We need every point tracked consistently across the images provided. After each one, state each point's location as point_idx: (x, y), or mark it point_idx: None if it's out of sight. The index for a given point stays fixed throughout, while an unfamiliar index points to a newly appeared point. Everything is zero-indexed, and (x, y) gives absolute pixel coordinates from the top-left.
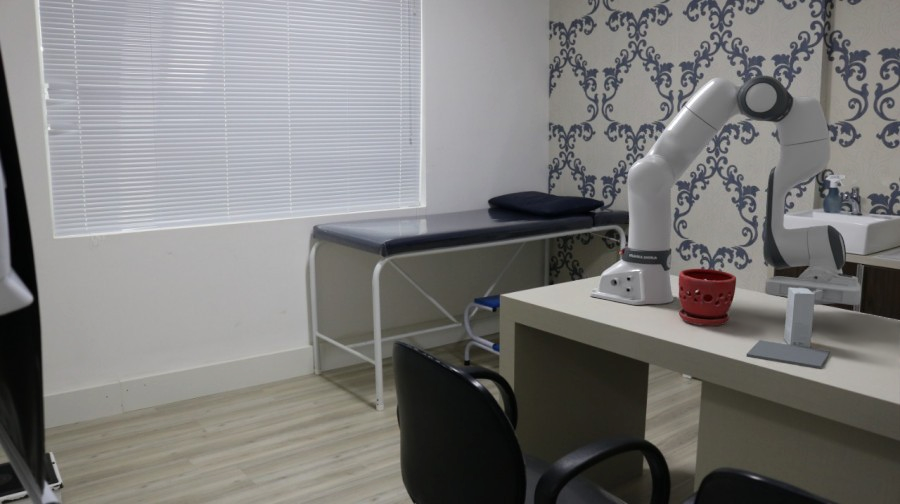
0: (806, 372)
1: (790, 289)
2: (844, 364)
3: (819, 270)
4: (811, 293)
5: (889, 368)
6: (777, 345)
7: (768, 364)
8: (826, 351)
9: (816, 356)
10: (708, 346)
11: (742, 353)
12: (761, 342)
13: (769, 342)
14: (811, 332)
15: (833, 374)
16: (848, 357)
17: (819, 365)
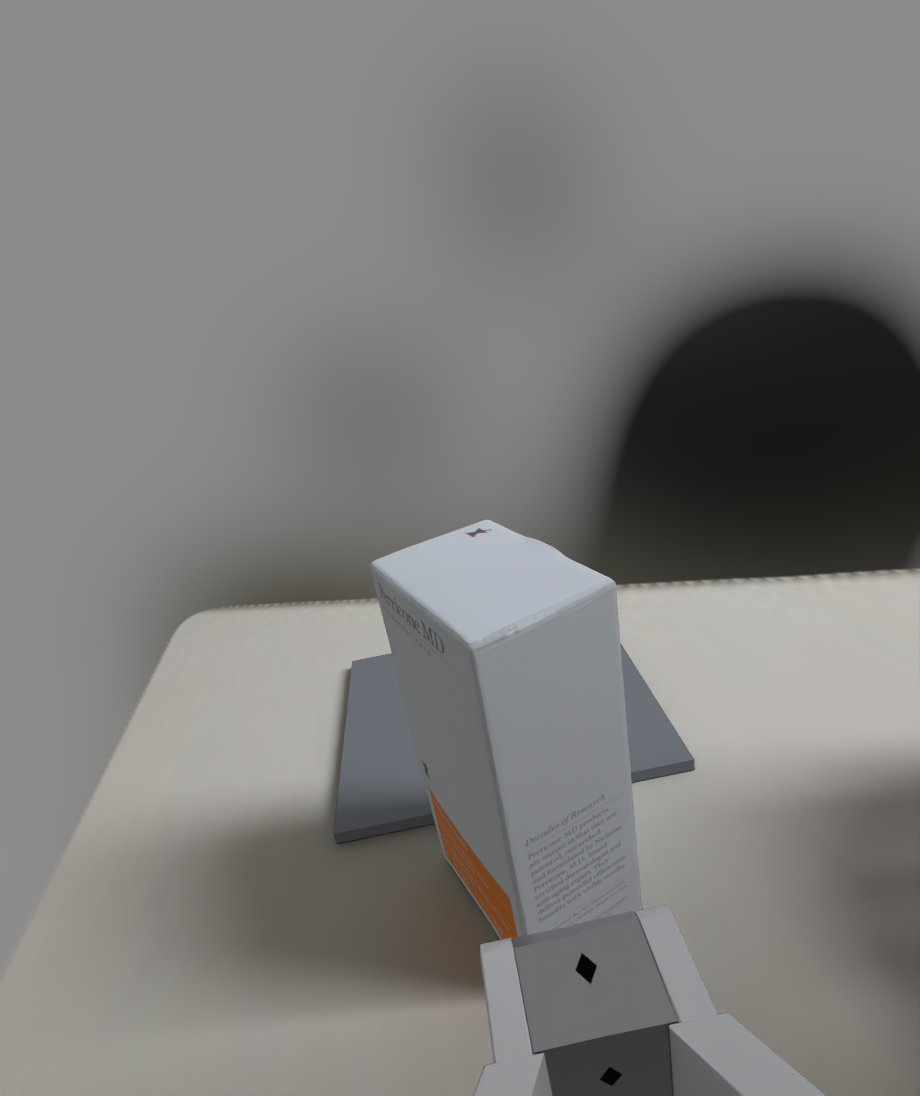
0: None
1: (569, 559)
2: (273, 752)
3: None
4: (393, 556)
5: (89, 824)
6: None
7: None
8: (349, 814)
9: (380, 728)
10: (772, 611)
11: (630, 630)
12: (657, 733)
13: (631, 756)
14: (426, 785)
15: (312, 657)
16: (247, 848)
17: (356, 664)
